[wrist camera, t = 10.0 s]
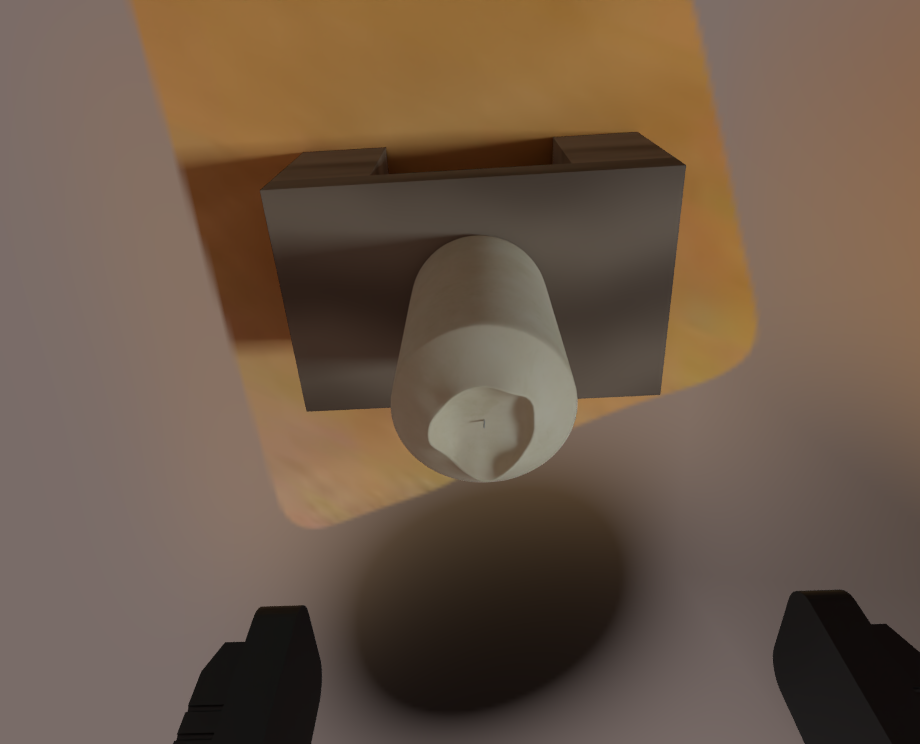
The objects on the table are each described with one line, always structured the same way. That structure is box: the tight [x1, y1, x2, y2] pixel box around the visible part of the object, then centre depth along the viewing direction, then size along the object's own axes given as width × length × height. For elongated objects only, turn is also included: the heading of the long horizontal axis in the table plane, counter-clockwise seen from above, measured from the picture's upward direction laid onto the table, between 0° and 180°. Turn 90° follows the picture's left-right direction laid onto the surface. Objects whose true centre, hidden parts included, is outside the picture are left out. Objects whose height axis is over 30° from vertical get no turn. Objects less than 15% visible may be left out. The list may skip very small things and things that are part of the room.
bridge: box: [260, 132, 686, 411], centre depth 30 cm, size 10×16×8 cm, turn 93°
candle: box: [391, 235, 578, 482], centre depth 22 cm, size 6×6×10 cm
